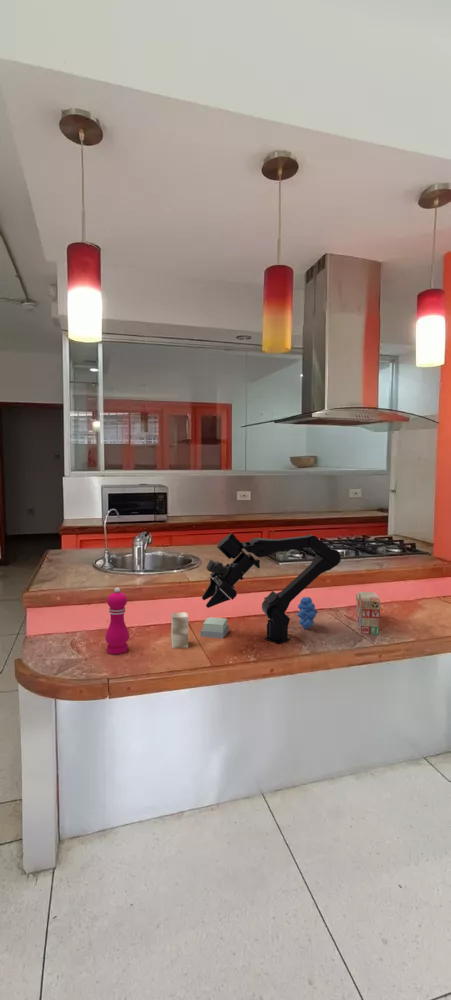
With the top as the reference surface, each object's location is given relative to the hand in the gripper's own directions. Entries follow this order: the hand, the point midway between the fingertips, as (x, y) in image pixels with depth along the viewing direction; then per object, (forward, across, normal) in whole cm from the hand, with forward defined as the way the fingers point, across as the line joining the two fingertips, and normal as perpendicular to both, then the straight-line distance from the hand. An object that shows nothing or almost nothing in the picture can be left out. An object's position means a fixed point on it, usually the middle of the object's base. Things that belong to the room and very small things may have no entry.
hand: (204, 602), depth 152 cm
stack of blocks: (-34, -10, +54) cm, 65 cm away
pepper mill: (+29, +2, -10) cm, 31 cm away
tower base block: (+6, -9, +14) cm, 18 cm away
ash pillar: (+15, 0, +4) cm, 16 cm away
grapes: (-18, -9, +38) cm, 43 cm away
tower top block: (+5, -9, +12) cm, 16 cm away
